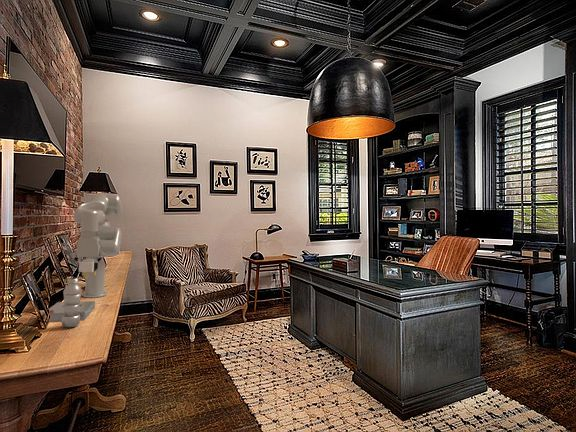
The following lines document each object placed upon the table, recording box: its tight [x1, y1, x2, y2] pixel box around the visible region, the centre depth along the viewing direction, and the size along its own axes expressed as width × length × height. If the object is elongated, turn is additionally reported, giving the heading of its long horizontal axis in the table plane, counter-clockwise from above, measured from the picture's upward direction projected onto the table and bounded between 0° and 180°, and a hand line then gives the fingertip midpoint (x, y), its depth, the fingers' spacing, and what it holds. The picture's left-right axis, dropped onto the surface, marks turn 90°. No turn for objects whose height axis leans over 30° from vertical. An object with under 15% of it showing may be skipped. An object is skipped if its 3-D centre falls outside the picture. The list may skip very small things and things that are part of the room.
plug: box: [78, 259, 95, 279], centre depth 181 cm, size 11×6×8 cm, turn 17°
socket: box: [48, 300, 96, 322], centre depth 164 cm, size 20×16×4 cm
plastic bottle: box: [60, 277, 83, 329], centre depth 147 cm, size 6×7×20 cm
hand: (87, 270), depth 180 cm, fingers closed on plug, 6 cm apart
